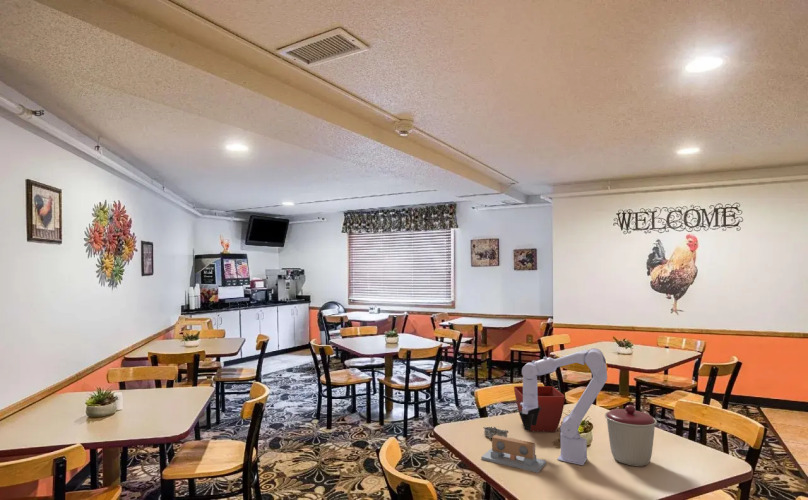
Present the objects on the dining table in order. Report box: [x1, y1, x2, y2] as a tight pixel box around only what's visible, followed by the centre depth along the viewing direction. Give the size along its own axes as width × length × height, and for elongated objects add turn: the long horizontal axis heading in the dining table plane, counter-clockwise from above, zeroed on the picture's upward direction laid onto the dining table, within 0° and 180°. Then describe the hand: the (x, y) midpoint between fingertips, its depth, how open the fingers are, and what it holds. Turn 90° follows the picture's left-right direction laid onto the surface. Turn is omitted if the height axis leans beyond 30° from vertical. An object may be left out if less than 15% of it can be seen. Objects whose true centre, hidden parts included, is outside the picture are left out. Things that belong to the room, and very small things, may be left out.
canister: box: [604, 404, 658, 467], centre depth 180 cm, size 18×18×21 cm
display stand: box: [480, 448, 547, 474], centre depth 179 cm, size 22×10×3 cm, turn 58°
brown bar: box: [491, 434, 536, 459], centre depth 179 cm, size 16×3×5 cm, turn 58°
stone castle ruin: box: [482, 426, 509, 439], centre depth 205 cm, size 11×8×4 cm
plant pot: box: [513, 385, 566, 433], centre depth 218 cm, size 19×19×17 cm
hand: (530, 427), depth 188 cm, fingers open, 7 cm apart
